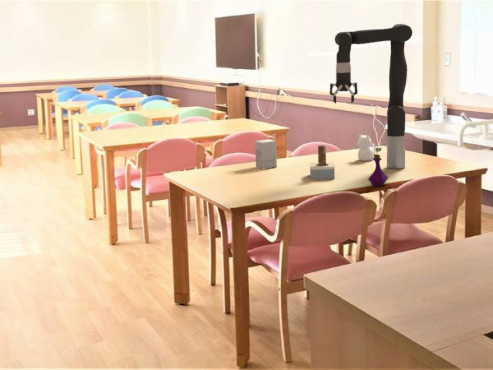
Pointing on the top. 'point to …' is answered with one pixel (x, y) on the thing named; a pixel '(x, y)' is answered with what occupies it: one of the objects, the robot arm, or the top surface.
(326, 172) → the grey box cream lid
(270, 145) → the supplement box
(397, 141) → the robot arm
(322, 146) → the walnut peg
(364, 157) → the cat figurine
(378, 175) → the perfume bottle
